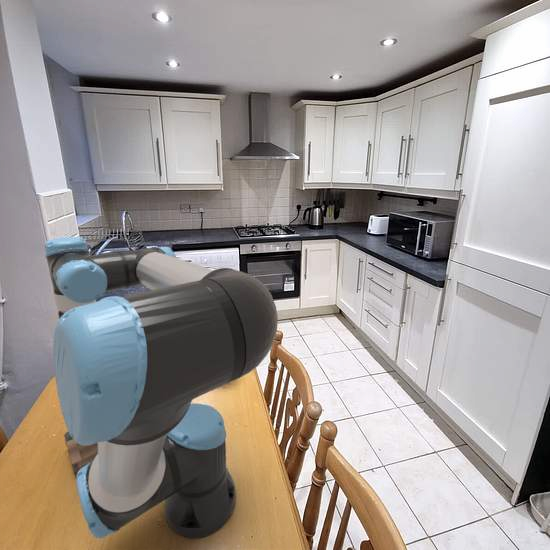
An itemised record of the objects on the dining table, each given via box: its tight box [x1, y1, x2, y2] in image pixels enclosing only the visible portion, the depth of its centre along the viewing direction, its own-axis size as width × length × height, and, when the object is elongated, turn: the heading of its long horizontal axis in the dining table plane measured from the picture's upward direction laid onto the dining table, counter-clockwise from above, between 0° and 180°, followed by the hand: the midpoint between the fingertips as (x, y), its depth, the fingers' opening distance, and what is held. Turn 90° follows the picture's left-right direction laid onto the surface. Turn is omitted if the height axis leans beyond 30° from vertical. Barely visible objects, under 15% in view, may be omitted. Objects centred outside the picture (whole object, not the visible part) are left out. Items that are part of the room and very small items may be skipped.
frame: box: [65, 439, 98, 475], centre depth 84 cm, size 15×17×4 cm
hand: (94, 394), depth 77 cm, fingers closed on candy box, 4 cm apart
